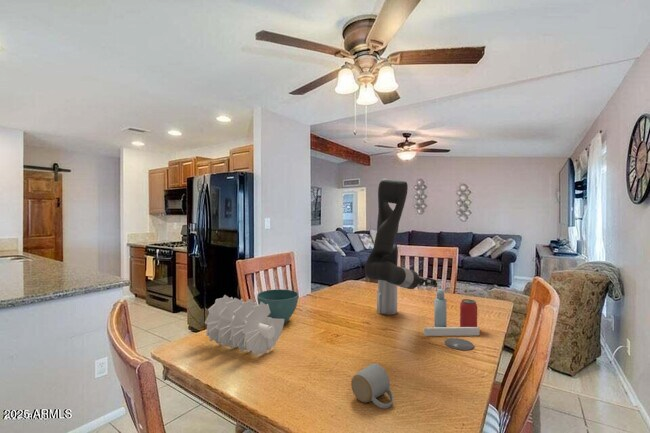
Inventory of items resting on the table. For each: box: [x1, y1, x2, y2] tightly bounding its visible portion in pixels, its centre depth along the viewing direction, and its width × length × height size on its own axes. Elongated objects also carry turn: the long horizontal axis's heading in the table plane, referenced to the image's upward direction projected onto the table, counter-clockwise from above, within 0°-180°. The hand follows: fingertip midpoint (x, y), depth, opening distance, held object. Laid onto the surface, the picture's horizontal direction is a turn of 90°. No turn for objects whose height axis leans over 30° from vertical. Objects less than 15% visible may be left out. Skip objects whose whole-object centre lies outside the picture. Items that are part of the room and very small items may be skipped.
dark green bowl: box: [256, 288, 299, 324], centre depth 145 cm, size 18×18×12 cm
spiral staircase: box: [204, 294, 285, 357], centre depth 117 cm, size 18×18×25 cm
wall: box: [423, 326, 480, 337], centre depth 129 cm, size 22×1×3 cm, turn 92°
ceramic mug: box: [350, 362, 395, 410], centre depth 85 cm, size 11×8×8 cm
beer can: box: [459, 298, 478, 327], centre depth 135 cm, size 7×7×12 cm
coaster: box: [444, 337, 475, 351], centre depth 120 cm, size 10×10×1 cm
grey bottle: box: [433, 288, 447, 327], centre depth 138 cm, size 5×5×16 cm
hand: (426, 284), depth 138 cm, fingers open, 8 cm apart
